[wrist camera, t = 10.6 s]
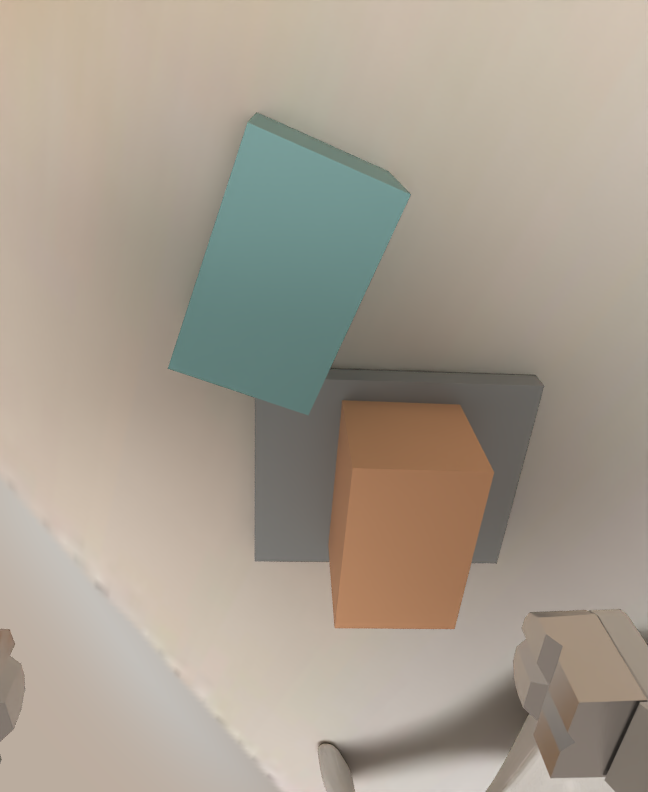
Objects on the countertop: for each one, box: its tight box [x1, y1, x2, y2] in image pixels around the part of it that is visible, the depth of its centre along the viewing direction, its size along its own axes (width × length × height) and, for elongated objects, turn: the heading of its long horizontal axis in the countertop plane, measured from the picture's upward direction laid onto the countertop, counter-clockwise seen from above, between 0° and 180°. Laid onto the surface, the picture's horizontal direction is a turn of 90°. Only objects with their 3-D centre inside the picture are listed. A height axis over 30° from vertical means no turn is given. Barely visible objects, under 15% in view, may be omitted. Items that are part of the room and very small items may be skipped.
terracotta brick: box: [328, 400, 494, 629], centre depth 25 cm, size 5×8×5 cm, turn 176°
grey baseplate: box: [255, 369, 544, 563], centre depth 27 cm, size 12×10×1 cm
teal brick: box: [168, 113, 411, 415], centre depth 20 cm, size 5×8×5 cm, turn 157°
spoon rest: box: [318, 714, 615, 792], centre depth 35 cm, size 24×12×7 cm, turn 110°
